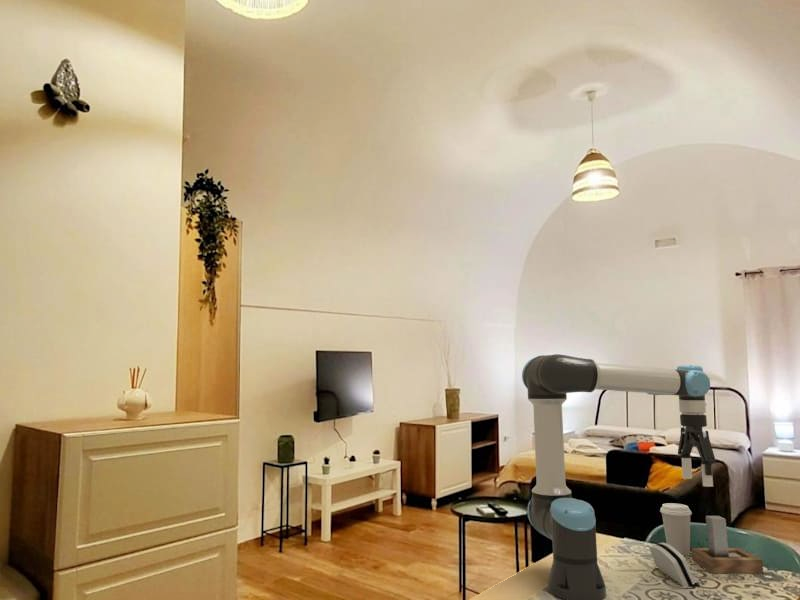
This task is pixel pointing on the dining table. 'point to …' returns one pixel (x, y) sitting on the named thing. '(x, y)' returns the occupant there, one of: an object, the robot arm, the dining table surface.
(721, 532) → the bracket
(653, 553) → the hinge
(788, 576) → the dining table surface
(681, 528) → the coffee cup
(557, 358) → the robot arm
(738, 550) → the frame
